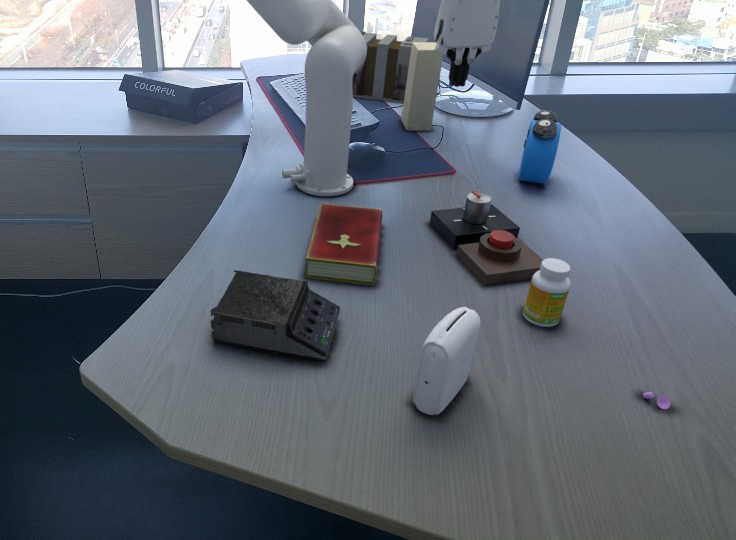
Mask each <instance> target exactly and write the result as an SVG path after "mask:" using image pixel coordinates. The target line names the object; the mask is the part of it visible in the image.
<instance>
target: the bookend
mask: <svg viewBox="0 0 736 540" xmlns="http://www.w3.org/2000/svg"><path fill="white" fill-rule="evenodd" d="M359 31H360V32H361V34H362V35H363V37H364V39H365V41H366V45H367V54H366V58H365V60H364V62H363V64H362V65H361V67H360V68H359V69H358V70H357V71H356V72H355V73H354V74H353V79H352V92H353V98H359V99H367V100H374V101H375V100H376V101H384V102H391V103H399V104H400V103H401V104H404V97H405V90H406V83H407V76H408V69H409V62H410V54H411V47H412V43H413V42H430V38H429V37H419V36H418V37H417V36H413V35H410V36H407V37H406V38H405V39H404V40H398V35H397V34H386V35H385V36H384V37H383V38H382V39H381V38H377V34H378V33H373V32H366V31H364V30H359Z"/></svg>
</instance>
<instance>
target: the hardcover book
mask: <svg viewBox="0 0 736 540" xmlns="http://www.w3.org/2000/svg"><path fill="white" fill-rule="evenodd" d="M382 225H383V210H382V208H376V207H365V206H355V205H344V204H333V203H326V202H325V203H324V202H323V203H322V202H321V203H320V206H319V209H318V213H317V216H316V221H315V224H314V227H313V230H312V234H311V238H310V241H309V245H308V249H307V252H306V256H305V261H307V267H306V270H305V274H304V278H305V279H311V280H312V279H313V280H320V281H328V282H329V281H330V282H338V283H347V284H355V285H362V286H363V285H364V286H372V287H374V285H375V284H376V281H377V276H378V267H379V255H380V245H381V237H382V235H381V234H382Z"/></svg>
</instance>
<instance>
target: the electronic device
mask: <svg viewBox="0 0 736 540" xmlns="http://www.w3.org/2000/svg"><path fill="white" fill-rule="evenodd" d="M233 272H234V275H233V277H232V279H231V281H230V282H229V283H228V285H227V288H226V290H225V292H224V293H223V295H222V296H221V298H220V300H219V301H218V303H217V305H216V306H215V307H213V308H211V309H210V316H211V317H213V318H212V319H210V327H211V329H212V330H211V339H212V340H213V341H214V342H216V343H221V344H225V345H228V346H232V347H234V348H237V349H244V350H246V349H247V350H251V351H254V352H255V351H256V352H259V353H260V352H261V353H264V354H269V355H270V354H272V355H273V354H274V355H278V356H281V357H285V358H288V359H289V358H295V359H299V360H302V361H303V360H311V361H312V360H314V361H325V360H326V359H327V358H328V355H329V354H330V353H329V351H330V348H331V346H332V343H333V340H334V334H335V331H336V328H337V324H338V320H339V317H340V313H341V307H340V305H338V304H336V303H334V302H332V301H330V300H329V299H328V298H325V297H324V296H323V295H320V294H319V293H316V292H315V291H313V290H312V289H310V287H309V283H308V282H309V281H307V280H303V279H295V278H288V277H287V278H286V277H281V276H274V275H270V274H262V273H261V274H260V273H255V272H250V271H243V270H236V269H234V270H233Z"/></svg>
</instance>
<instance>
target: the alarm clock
mask: <svg viewBox="0 0 736 540" xmlns="http://www.w3.org/2000/svg"><path fill="white" fill-rule="evenodd" d="M558 121H559V118H558V115H557V114H556V112H554V111H553V110H549V108H548V109H544V110H540V111H538V112H536V113H535V114H534V116H533V120H531V122H530V123H529V127H528V129H527V134H526V137H525V139H524V143H523V151H522V156H521V160H520V164H519V171H518V176H517V177H518V178H517V179H518V180H519V181H523V182H530V183H537V184H540V189H541V188H543V185H545V184H547V183H548V182H549V179H550V177H551V174H552V171H553V168H554V165H555V160H556V157H557V152H558V148H559V143H560V139H561V138H560V137H561V131H562V125H561V123H559V122H558Z"/></svg>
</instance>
